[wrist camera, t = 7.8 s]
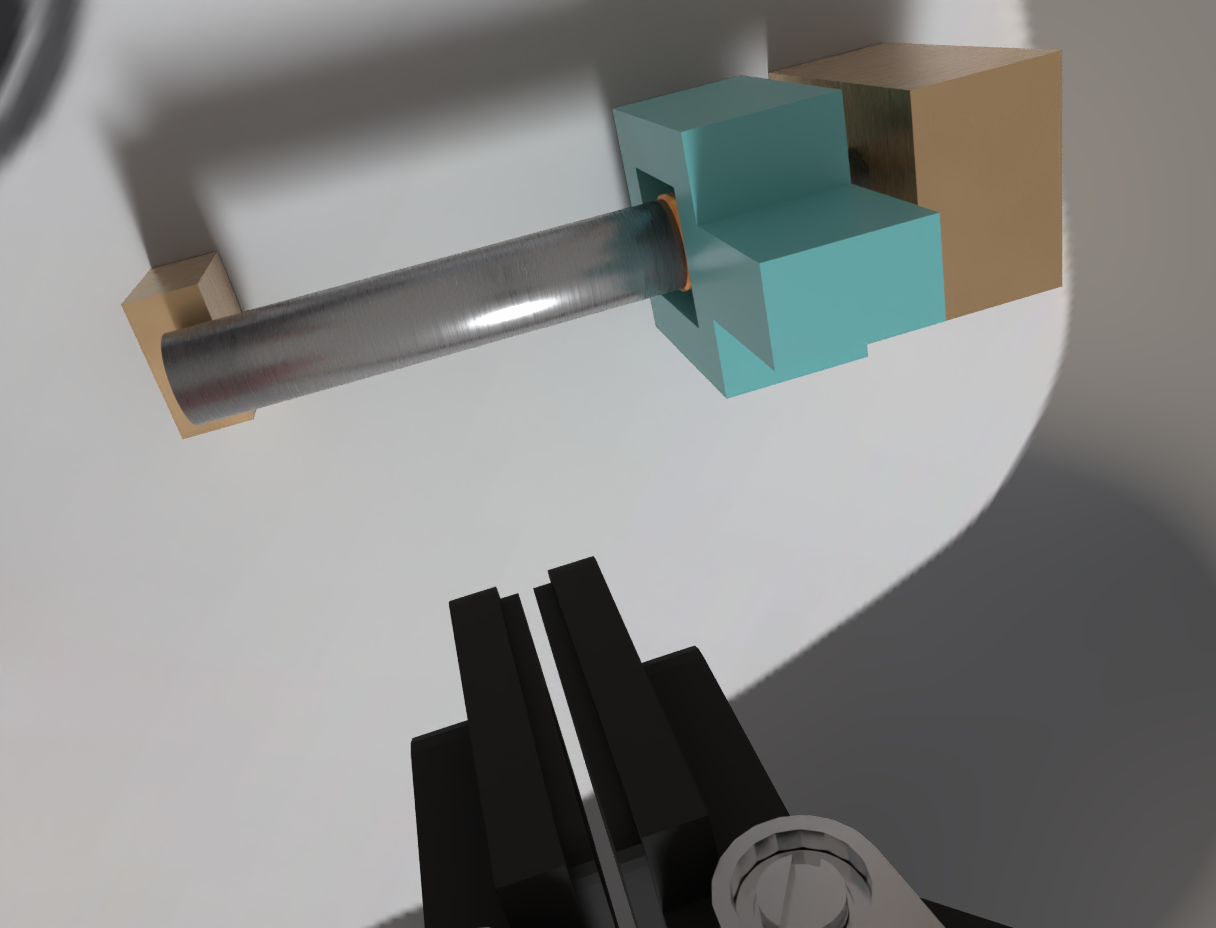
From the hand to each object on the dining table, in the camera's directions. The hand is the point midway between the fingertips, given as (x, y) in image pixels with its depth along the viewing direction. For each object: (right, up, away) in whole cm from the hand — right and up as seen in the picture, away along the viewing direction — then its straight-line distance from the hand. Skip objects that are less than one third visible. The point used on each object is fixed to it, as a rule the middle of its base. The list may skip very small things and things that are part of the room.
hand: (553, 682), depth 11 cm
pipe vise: (-1, +10, +21) cm, 23 cm away
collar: (+3, +10, +19) cm, 22 cm away
